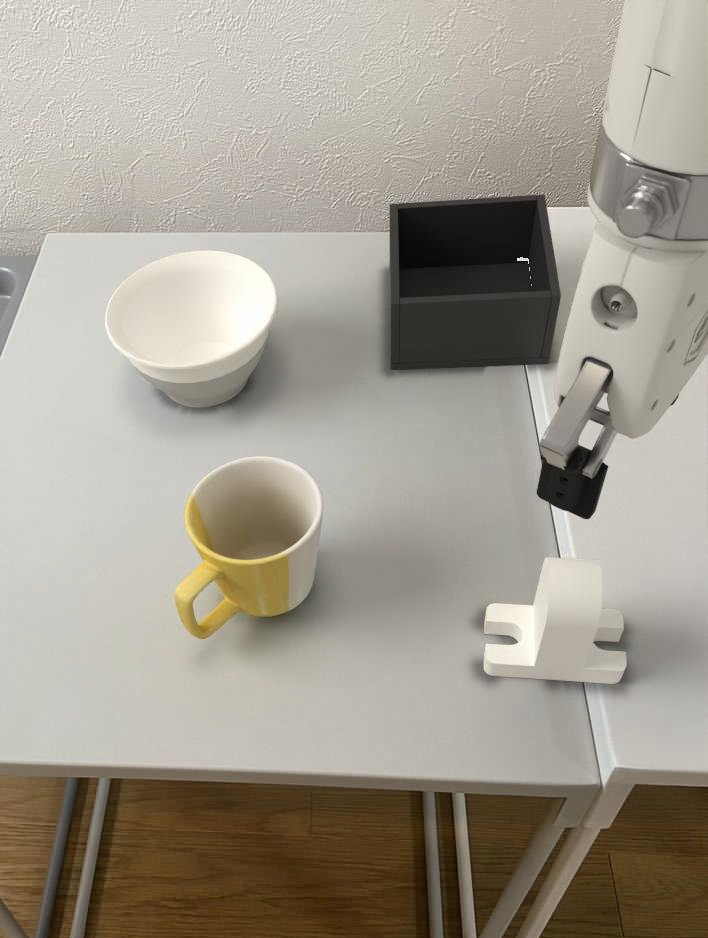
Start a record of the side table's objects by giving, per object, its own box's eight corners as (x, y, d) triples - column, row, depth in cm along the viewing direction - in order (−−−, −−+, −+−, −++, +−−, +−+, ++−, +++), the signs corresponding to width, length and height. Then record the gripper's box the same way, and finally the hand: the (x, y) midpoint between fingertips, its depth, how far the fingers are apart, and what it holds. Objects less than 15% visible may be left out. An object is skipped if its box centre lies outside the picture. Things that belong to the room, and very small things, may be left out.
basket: (534, 263, 95) (544, 193, 88) (548, 363, 87) (561, 295, 80) (389, 271, 97) (389, 203, 90) (390, 370, 89) (390, 304, 82)
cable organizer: (621, 684, 68) (653, 612, 60) (483, 675, 70) (496, 603, 62) (617, 623, 71) (647, 546, 63) (484, 615, 73) (496, 539, 65)
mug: (279, 516, 81) (266, 433, 72) (356, 590, 76) (352, 509, 67) (150, 604, 77) (119, 528, 68) (221, 687, 72) (198, 616, 63)
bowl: (231, 299, 97) (219, 227, 90) (318, 383, 89) (312, 311, 82) (98, 368, 94) (74, 299, 87) (176, 461, 86) (157, 394, 78)
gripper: (682, 319, 33) (595, 585, 48) (863, 83, 40) (739, 379, 54) (497, 254, 37) (467, 521, 51) (693, 44, 43) (617, 334, 57)
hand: (607, 448), depth 52 cm, fingers open, 9 cm apart
